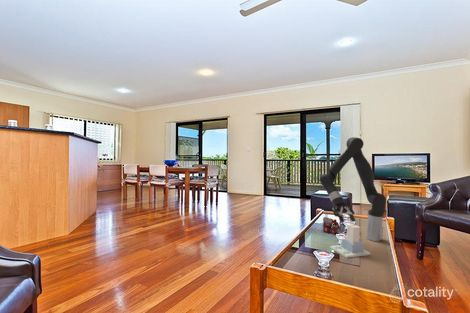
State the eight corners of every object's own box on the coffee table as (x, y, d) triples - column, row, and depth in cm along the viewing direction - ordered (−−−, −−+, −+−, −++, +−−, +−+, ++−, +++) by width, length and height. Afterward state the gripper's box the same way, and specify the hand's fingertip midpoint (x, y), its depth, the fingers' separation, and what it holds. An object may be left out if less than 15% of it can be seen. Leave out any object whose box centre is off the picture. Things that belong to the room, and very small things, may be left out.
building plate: (352, 245, 163) (352, 236, 162) (370, 254, 149) (371, 244, 149) (329, 247, 157) (330, 238, 156) (346, 257, 144) (347, 247, 143)
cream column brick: (352, 239, 157) (353, 224, 156) (358, 242, 152) (360, 227, 151) (346, 239, 155) (347, 224, 154) (352, 243, 150) (353, 227, 150)
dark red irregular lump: (338, 235, 180) (339, 221, 179) (320, 231, 187) (321, 217, 187) (340, 233, 185) (341, 219, 185) (323, 229, 193) (324, 216, 192)
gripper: (331, 196, 162) (343, 219, 152) (348, 196, 167) (361, 218, 157) (325, 202, 168) (336, 225, 157) (342, 202, 172) (353, 223, 162)
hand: (348, 221), depth 157 cm, fingers open, 8 cm apart
